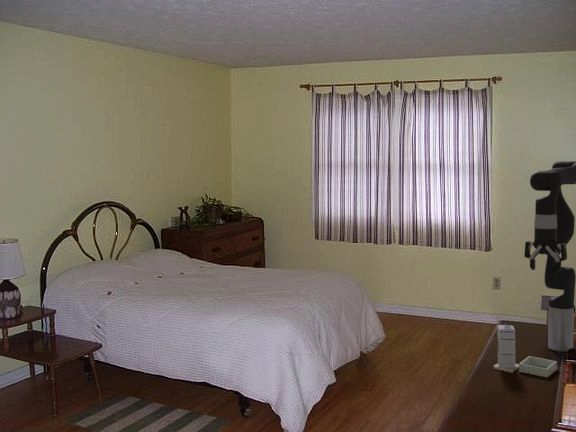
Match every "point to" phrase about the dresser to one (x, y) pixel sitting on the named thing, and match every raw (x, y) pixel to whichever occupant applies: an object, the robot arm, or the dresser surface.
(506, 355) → the syrup box
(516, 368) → the pad
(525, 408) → the dresser surface
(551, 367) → the bin
